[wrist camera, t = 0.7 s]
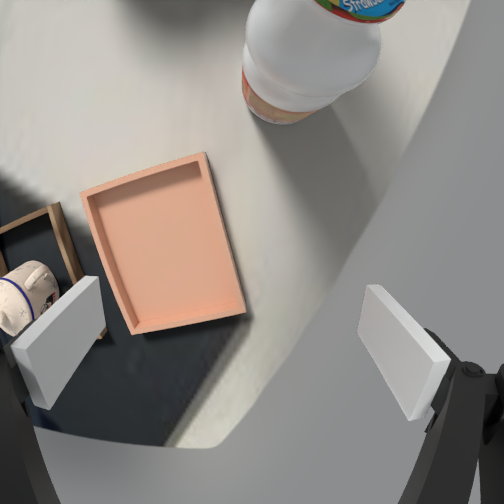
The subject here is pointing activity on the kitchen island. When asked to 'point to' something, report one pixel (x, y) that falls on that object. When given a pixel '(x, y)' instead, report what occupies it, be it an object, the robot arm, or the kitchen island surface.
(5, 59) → the kitchen island surface
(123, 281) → the terracotta dish
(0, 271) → the walnut corral
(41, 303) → the teacup with lid
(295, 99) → the fruit juice
